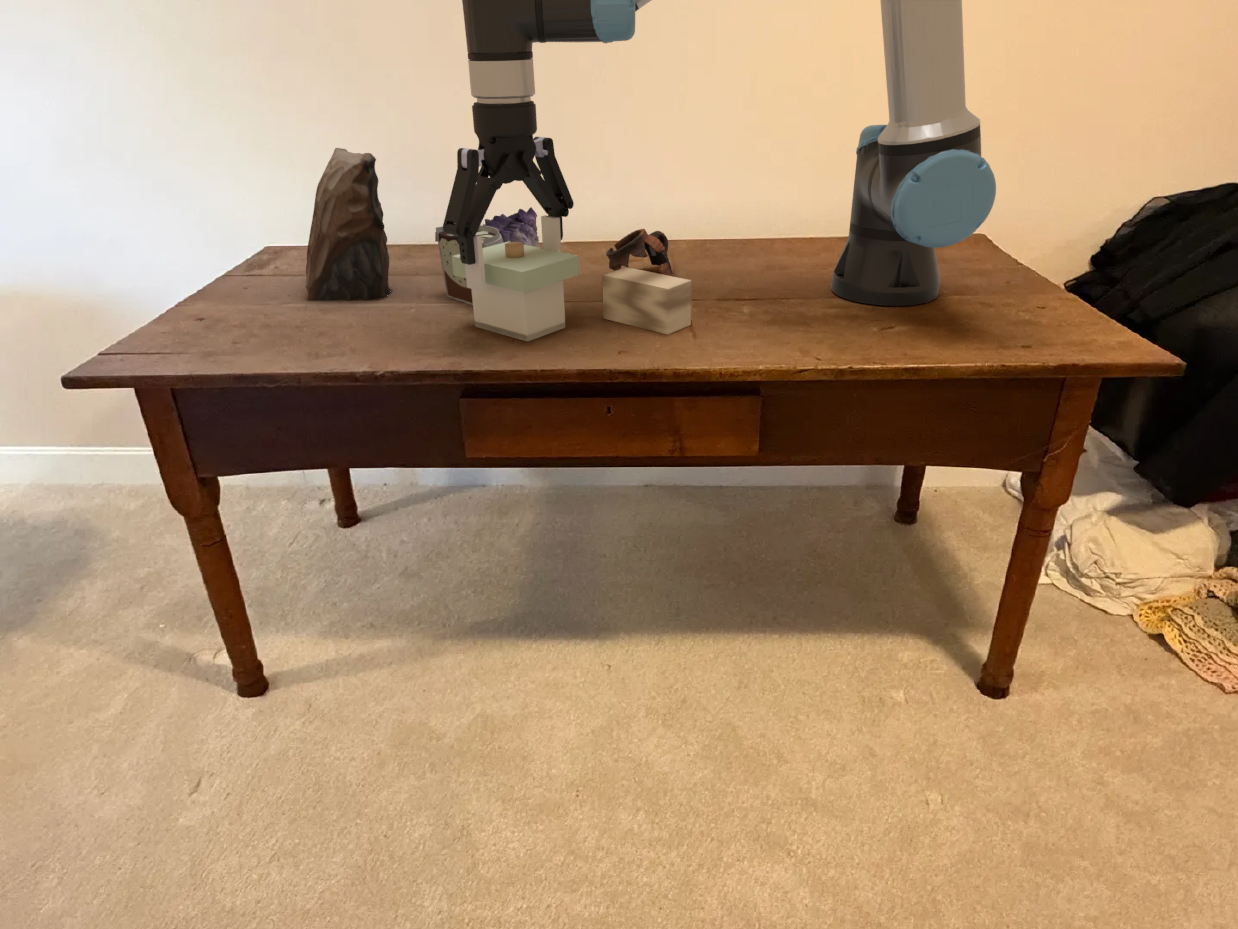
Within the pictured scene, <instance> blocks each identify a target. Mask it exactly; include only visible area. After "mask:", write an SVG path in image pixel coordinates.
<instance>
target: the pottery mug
mask: <svg viewBox="0 0 1238 929" xmlns="http://www.w3.org/2000/svg"><path fill="white" fill-rule="evenodd" d="M613 245H614V248H615V249H616V250H614V249H613V247H610V248H609V249H607V251H606V254H605V256H606V257H607V258H608V260H609V262H608V268H609V270H610V269H611V270H613V271H616V270H619V269H622V267H624V268H626V267H628V268H630V266H629V260H630V255H631V256H632V257H634V258H642V259H643V258H649V261H650V264H651V266H658V267H660V268H659V269H658V272H659V274H663V275H668V276H672V275H673V274H674V273H673V269H672V265H671V263H670V260H669V257H668V252H669V251H668V250H669V240H668V237H667V235H666V234H665V233H664V232H662V231H660V230H655V231H653V232H651V233H649V234H648V232H647V231H646V229H645V228H639V229H636V230H634V231H632V232H630V233H628V234H627V235H626V236H623V238H621V239H620V240H619V241H617V242H616V243H615V244H613Z"/></svg>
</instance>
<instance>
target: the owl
mask: <svg viewBox="0 0 1238 929" xmlns="http://www.w3.org/2000/svg"><path fill="white" fill-rule="evenodd" d="M376 161H377V158H376V157H375V156H374V155H373V153H370V152H364V153H360V152H351V151H348V150H347V149H346V148H342V147H341V148H340V147H335V148H334V150H333V153H332V154H331V157H330V158H329V161H328V162H327V165H326V167H325V168H324V171H323V173H322V175H321V177H320V179H319V180H318V181H319V182H318V183H317V186H316V190H315V197H314V198H315V199H314V206H313V212H312V213H313V214H312V219H311V226H310V231H309V238H308V242H307V243H308V244H307V251H306V265H305V276H306V279H305V289H306V291H307V301H308V302H311V301H312V302H315V301H316V300H317V301H358V300H359V299H361V301H374V300H375V299H376V300H380V298H383V299H385V298H384V297H386V298H388V297H387V295H389V294H390V293H392V292H390V291H391V290H392V289H390V287H389V271H390V256H389V251H388V246H387V243H388V236H387V233H386V231H385V224H384V222H383V221H384V212H383V208H382V205H381V202H380V199H379V194H378V188H379V187H378V185H379V177H378V175H377V172H376ZM390 295H391V294H390ZM390 295H389V296H390ZM356 299H357V300H356ZM317 301H316V302H317ZM359 301H360V300H359Z"/></svg>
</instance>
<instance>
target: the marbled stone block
mask: <svg viewBox="0 0 1238 929" xmlns="http://www.w3.org/2000/svg"><path fill="white" fill-rule="evenodd" d="M692 282H693V280H692V279H687V278H683V277H677V276H668V275H663V274H660V273H657V272H653V271H652V272H651V271H648V270H642V269H638V268H633V267H632V268H631V267H629V268H628V267H621V269H619V270H616V271H614V270H613V271H611V272H608V273H604V274H602V308H603V309H602V310H603V319H604V320H609V321H612V322H616V323H620V324H623V325H627V326H632V327H636V328H640V329H645V330H647V331H651V332H656V333H659V334H664V335H666V336H667V335H671V334H673V333H675V332H677V331H680V330H682V329H684V328H687V327H689V326H691V324H692V323H691V322H692V286H693V283H692Z"/></svg>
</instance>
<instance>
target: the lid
mask: <svg viewBox="0 0 1238 929" xmlns="http://www.w3.org/2000/svg"><path fill="white" fill-rule="evenodd" d="M539 247H540V246H539ZM539 247H534V246H529V245H524V243H522V242H509V241H508V242H505V243H501V244H497V245H493V246H489V247H485V248H483V259H484V270H485V281H486V283H487V284H491V285H495V286H499V287H503V288H508V289H512V290H516V291H520V292H527V291H530V290H533V289H536V288H540V287H543V286H546V285H549V284H552V283H555V282H559V281H562V280H563V281H565V280H567V279H570V278H574V277H577V276H580V274H581V272H580V255H578V254H572V253H569V252H562V251H561V252H559V251H554V250H549V249H544V248H543V247H540V248H539ZM452 264H453V273H454V276H458V277H463V278H466V271H465V264H464V263H462V262H461V259H460V254H458V255H454V256H452Z"/></svg>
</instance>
